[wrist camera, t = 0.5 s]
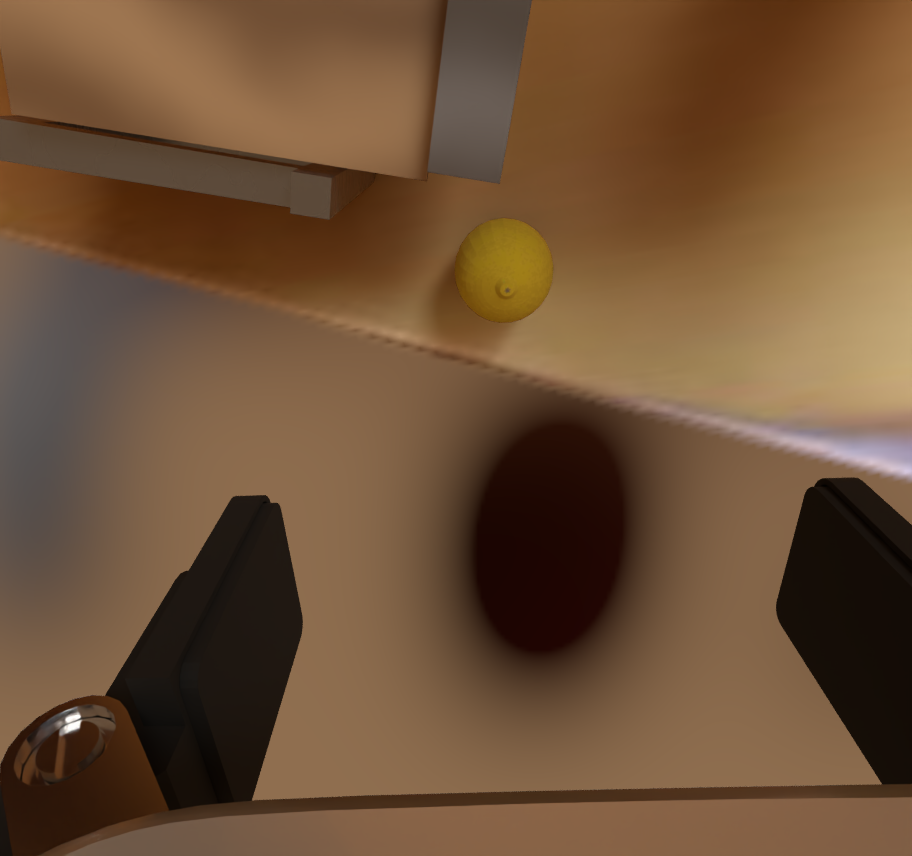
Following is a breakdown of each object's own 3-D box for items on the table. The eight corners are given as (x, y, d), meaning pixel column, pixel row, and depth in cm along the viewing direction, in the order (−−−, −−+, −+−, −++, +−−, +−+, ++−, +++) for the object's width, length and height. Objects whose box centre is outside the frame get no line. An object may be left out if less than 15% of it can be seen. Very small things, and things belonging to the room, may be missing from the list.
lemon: (474, 310, 40) (474, 355, 33) (443, 227, 37) (436, 257, 30) (556, 280, 39) (574, 321, 32) (529, 193, 36) (543, 216, 29)
